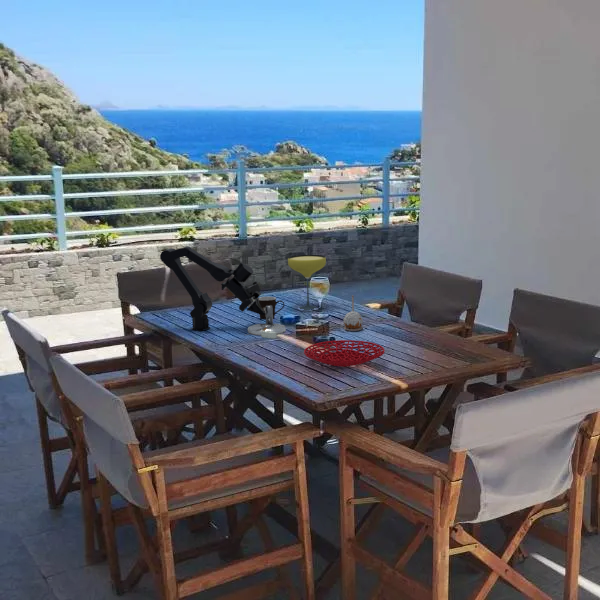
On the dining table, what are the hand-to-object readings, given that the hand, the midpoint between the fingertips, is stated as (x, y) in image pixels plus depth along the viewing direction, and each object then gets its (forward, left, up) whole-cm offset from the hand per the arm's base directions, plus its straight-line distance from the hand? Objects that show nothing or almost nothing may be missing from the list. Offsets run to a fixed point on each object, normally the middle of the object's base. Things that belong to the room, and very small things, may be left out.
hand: (264, 314), depth 351 cm
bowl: (+55, -29, -7) cm, 63 cm away
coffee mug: (-10, +18, -7) cm, 22 cm away
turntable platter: (+4, -4, -6) cm, 8 cm away
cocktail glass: (-7, +46, -7) cm, 47 cm away
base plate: (+4, -4, -7) cm, 9 cm away
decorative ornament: (+33, +18, -7) cm, 39 cm away
